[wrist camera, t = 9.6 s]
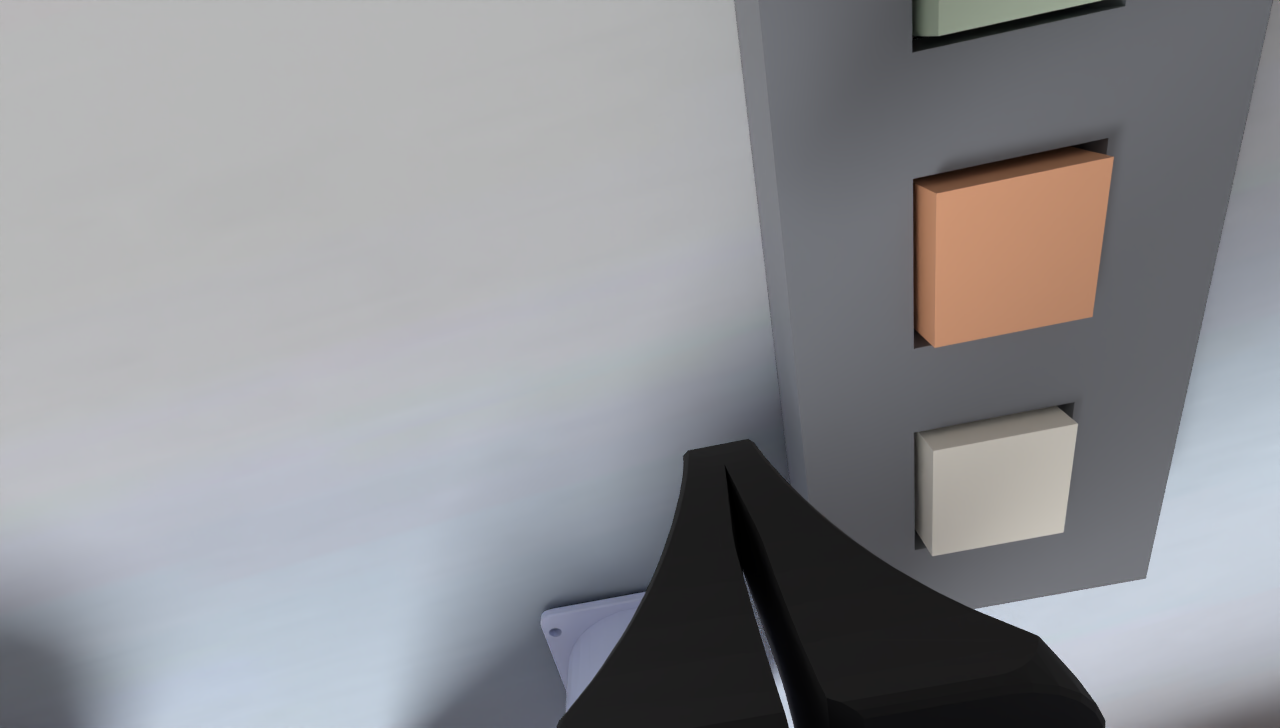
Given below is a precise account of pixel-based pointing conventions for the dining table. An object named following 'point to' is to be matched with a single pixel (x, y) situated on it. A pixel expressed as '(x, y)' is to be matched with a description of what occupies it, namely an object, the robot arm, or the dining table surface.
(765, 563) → the robot arm
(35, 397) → the dining table surface
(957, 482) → the cream button
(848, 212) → the button panel
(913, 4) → the sage button
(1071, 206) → the rust button
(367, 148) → the dining table surface
